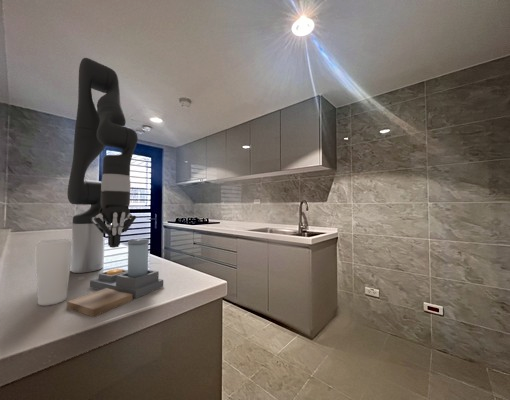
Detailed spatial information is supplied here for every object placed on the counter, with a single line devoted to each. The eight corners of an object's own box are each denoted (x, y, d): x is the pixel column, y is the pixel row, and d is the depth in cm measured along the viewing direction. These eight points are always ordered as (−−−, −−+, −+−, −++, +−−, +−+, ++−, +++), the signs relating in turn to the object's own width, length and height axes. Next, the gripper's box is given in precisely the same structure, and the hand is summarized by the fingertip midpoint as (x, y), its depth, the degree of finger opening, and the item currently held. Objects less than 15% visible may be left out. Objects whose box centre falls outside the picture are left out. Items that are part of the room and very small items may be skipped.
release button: (103, 278, 65) (103, 271, 65) (116, 274, 68) (116, 268, 68) (112, 280, 63) (112, 273, 63) (125, 276, 67) (125, 269, 67)
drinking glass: (36, 311, 49) (38, 244, 49) (30, 302, 53) (32, 241, 53) (74, 300, 54) (75, 240, 55) (66, 294, 58) (68, 237, 59)
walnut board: (66, 307, 50) (67, 301, 50) (106, 293, 59) (106, 288, 59) (93, 316, 46) (93, 309, 47) (132, 300, 55) (132, 294, 55)
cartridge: (122, 283, 60) (123, 240, 61) (139, 278, 65) (140, 238, 66) (136, 286, 58) (136, 241, 59) (152, 280, 63) (152, 239, 64)
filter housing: (89, 287, 63) (90, 271, 63) (119, 278, 71) (120, 264, 72) (135, 298, 56) (136, 280, 56) (163, 286, 64) (163, 271, 64)
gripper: (127, 191, 74) (126, 242, 74) (84, 188, 62) (82, 249, 62) (143, 191, 71) (141, 244, 71) (101, 188, 59) (98, 252, 59)
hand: (113, 247), depth 66 cm, fingers closed
